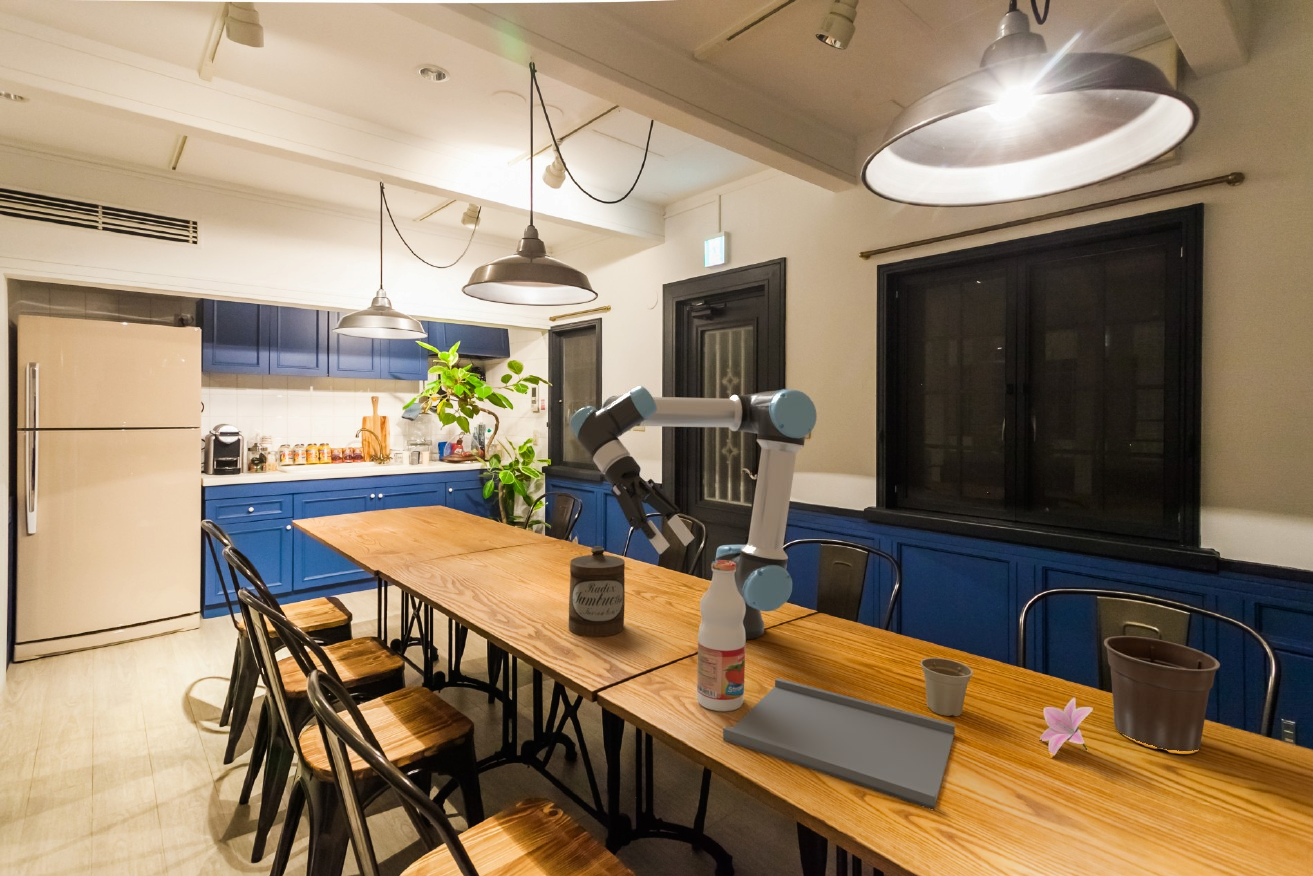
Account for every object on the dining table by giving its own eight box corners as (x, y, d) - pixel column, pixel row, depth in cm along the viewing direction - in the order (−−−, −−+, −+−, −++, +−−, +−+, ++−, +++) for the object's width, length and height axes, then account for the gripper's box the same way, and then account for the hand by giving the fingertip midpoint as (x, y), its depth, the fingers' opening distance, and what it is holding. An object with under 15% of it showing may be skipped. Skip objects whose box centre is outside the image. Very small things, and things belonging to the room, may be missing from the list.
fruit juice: (702, 688, 127) (706, 555, 126) (747, 695, 124) (751, 559, 123) (691, 708, 118) (695, 565, 117) (739, 716, 115) (743, 570, 114)
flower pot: (967, 703, 123) (968, 661, 123) (975, 725, 114) (977, 680, 114) (917, 695, 126) (918, 654, 126) (920, 716, 117) (922, 672, 117)
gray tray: (723, 740, 106) (723, 728, 106) (776, 687, 128) (777, 678, 128) (934, 810, 88) (934, 797, 88) (954, 735, 110) (955, 724, 110)
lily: (1046, 733, 113) (1025, 693, 113) (1113, 730, 107) (1091, 687, 106) (1045, 778, 105) (1022, 734, 104) (1119, 777, 98) (1095, 730, 98)
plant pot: (1182, 771, 100) (1187, 674, 100) (1081, 725, 115) (1084, 641, 114) (1235, 752, 107) (1239, 661, 106) (1132, 711, 121) (1136, 631, 121)
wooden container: (571, 639, 153) (573, 552, 153) (566, 620, 168) (567, 541, 167) (628, 635, 157) (630, 551, 156) (618, 617, 171) (620, 540, 171)
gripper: (635, 473, 145) (691, 548, 137) (575, 480, 126) (636, 566, 118) (654, 452, 142) (713, 527, 134) (596, 455, 123) (660, 543, 115)
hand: (677, 545), depth 126 cm, fingers open, 10 cm apart
